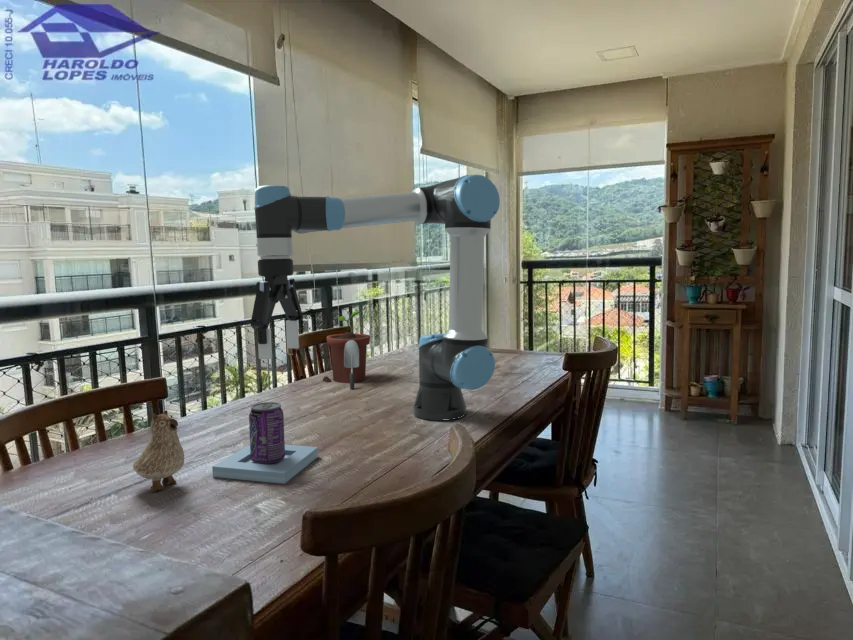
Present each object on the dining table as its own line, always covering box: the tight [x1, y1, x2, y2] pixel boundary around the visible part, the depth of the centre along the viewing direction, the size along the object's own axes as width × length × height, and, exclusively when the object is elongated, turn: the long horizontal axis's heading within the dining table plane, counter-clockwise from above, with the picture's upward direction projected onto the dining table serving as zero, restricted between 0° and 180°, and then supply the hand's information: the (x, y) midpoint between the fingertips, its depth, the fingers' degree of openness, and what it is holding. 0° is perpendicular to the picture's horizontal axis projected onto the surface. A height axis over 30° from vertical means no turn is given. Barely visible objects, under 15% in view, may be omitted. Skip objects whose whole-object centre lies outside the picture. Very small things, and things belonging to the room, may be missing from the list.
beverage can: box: [248, 401, 286, 464], centre depth 123 cm, size 7×7×12 cm
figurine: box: [132, 410, 185, 493], centre depth 112 cm, size 9×10×15 cm
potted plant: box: [322, 310, 371, 390], centre depth 207 cm, size 18×22×25 cm
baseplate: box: [211, 443, 319, 485], centre depth 123 cm, size 16×16×2 cm
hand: (280, 353), depth 129 cm, fingers open, 13 cm apart
